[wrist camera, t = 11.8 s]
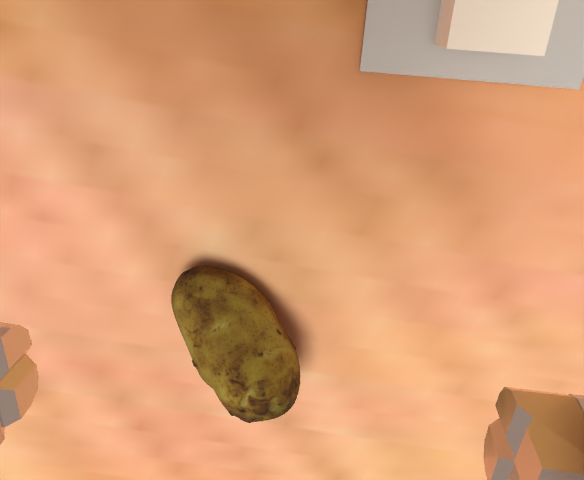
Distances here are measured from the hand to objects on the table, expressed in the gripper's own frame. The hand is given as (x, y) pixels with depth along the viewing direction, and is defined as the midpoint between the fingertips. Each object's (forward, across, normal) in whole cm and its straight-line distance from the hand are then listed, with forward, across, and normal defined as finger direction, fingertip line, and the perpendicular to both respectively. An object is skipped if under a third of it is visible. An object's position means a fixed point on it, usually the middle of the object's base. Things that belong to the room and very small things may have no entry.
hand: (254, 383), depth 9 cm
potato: (+29, +6, +19) cm, 35 cm away
